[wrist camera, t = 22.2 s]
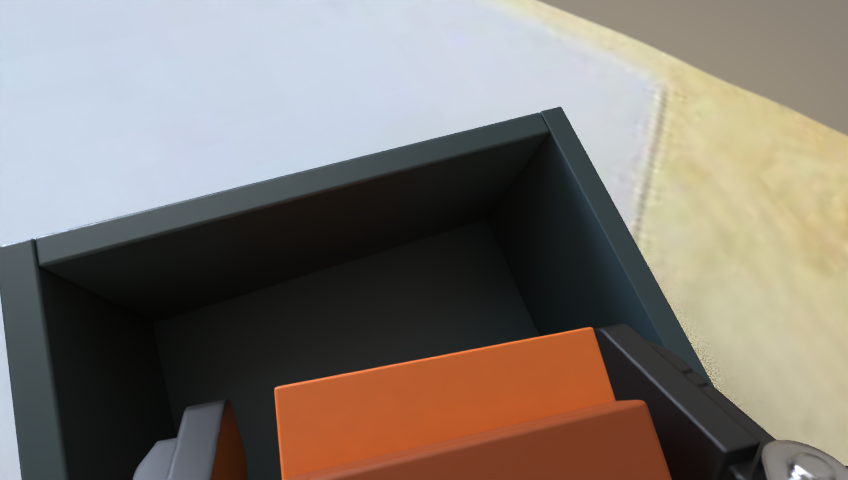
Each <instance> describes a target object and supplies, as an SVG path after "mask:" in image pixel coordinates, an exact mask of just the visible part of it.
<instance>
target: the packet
mask: <svg viewBox="0 0 848 480" xmlns="http://www.w3.org/2000/svg"><path fill="white" fill-rule="evenodd" d="M274 394H275V405H276V417H277V428H278V440H279V451H280V462H281V474H282V480H672V478H671V475H670V472H669V469H668V466H667V463H666V460H665V457H664V454H663V451H662V448H661V445H660V442H659V439H658V436H657V433H656V430H655V427H654V424H653V421H652V418H651V415H650V412H649V409H648V407H647V404H646V403H645V402H644V401H642V400H623V401H616V400H615V396H614V393H613V390H612V387H611V384H610V381H609V377H608V374H607V371H606V368H605V365H604V361H603V358H602V355H601V352H600V349H599V346H598V342H597V339H596V336H595V333H594V330H593V328H591V327H587V328H582V329H577V330H571V331H566V332H561V333H556V334H550V335H545V336H540V337H535V338H529V339H524V340H519V341H514V342H508V343H503V344H498V345H493V346H487V347H482V348H477V349H472V350H466V351H461V352H456V353H451V354H445V355H440V356H435V357H430V358H424V359H419V360H414V361H409V362H403V363H398V364H393V365H388V366H382V367H377V368H372V369H367V370H361V371H356V372H351V373H345V374H340V375H335V376H330V377H324V378H319V379H314V380H309V381H303V382H298V383H293V384H288V385H282V386H277V387H276V388H275V390H274Z"/></svg>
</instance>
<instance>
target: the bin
mask: <svg viewBox="0 0 848 480" xmlns="http://www.w3.org/2000/svg"><path fill="white" fill-rule="evenodd" d="M0 295H1V304H2V313H3V321H4V330H5V339H6V347H7V356H8V365H9V374H10V382H11V391H12V400H13V408H14V417H15V426H16V434H17V443H18V452H19V460H20V469H21V478H22V480H133V477H134V474H135V471H136V469H137V467H138V466H139V464H140V463H141V462H142V461H143V459H144V458H145V457H146V456H147V454H148V453H149V452H150V450H151V449H152V448H153V447H154V445H155V444H156V443H157V442H158V441H163V440H167V439H172V438H177V436H178V432H179V429H180V425H181V421H182V418H183V414H184V411H185V409H186V408H187V407H189V406H194V405H200V404H205V403H210V402H215V401H220V400H225V399H229V400H230V402H231V404H232V408H233V411H234V415H235V419H236V422H237V426H238V430H239V433H240V437H241V441H242V444H243V448H244V452H245V457H246V464H247V480H282V474H281V462H280V451H279V440H278V428H277V417H276V405H275V394H274V390H275V388H276V387H277V386H282V385H288V384H293V383H298V382H303V381H309V380H314V379H319V378H324V377H330V376H335V375H340V374H345V373H351V372H356V371H361V370H367V369H372V368H377V367H382V366H388V365H393V364H398V363H403V362H409V361H414V360H419V359H424V358H430V357H435V356H440V355H445V354H451V353H456V352H461V351H466V350H472V349H477V348H482V347H487V346H493V345H498V344H503V343H508V342H514V341H519V340H524V339H529V338H535V337H540V336H545V335H550V334H556V333H561V332H566V331H571V330H577V329H582V328H587V327H591V328H593V329H596V328H601V327H607V326H612V325H617V324H627V325H629V326H630V327H631V328H633V329H634V330H635V331H636V332H637V333H638V334H639V335H640V336H642V337H643V338H644V339H645V340H646V341H652V342H654V343H656V344H658V345H660V346H662V347H664V348H666V349H667V350H669V351H671V352H673V353H675V354H676V355H677V356H678V357H679V358H681V359H682V360H683V361H684V362H685V363H687V364H688V365H689V366H690V367H691V368H692V369H693V372H694V373H695V372H697V373H698V374H699V375H701V376H702V377H703V378H704V379H705V380H706V381H708V384H709V386H713V384H712V382H711V380H710V378H709V377H708V375H707V373H706V371H705V369H704V367H703V366H702V364H701V362H700V360H699V358H698V356H697V355H696V353H695V351H694V349H693V347H692V346H691V344H690V342H689V340H688V338H687V336H686V335H685V333H684V331H683V329H682V327H681V325H680V324H679V322H678V320H677V318H676V316H675V314H674V313H673V311H672V309H671V307H670V305H669V303H668V302H667V300H666V298H665V296H664V294H663V292H662V291H661V289H660V287H659V285H658V283H657V281H656V280H655V278H654V276H653V274H652V272H651V270H650V269H649V267H648V265H647V263H646V261H645V259H644V258H643V256H642V254H641V252H640V250H639V248H638V247H637V245H636V243H635V241H634V239H633V237H632V236H631V234H630V232H629V230H628V228H627V227H626V225H625V223H624V221H623V219H622V217H621V216H620V214H619V212H618V210H617V208H616V206H615V205H614V203H613V201H612V199H611V197H610V195H609V194H608V192H607V190H606V188H605V186H604V184H603V183H602V181H601V179H600V177H599V175H598V173H597V172H596V170H595V168H594V166H593V164H592V162H591V161H590V159H589V157H588V155H587V153H586V151H585V150H584V148H583V146H582V144H581V142H580V140H579V139H578V137H577V135H576V133H575V131H574V129H573V128H572V126H571V124H570V122H569V120H568V118H567V117H566V115H565V113H564V111H563V109H562V108H561V107H557V108H553V109H549V110H545V111H541V112H540V113H535V114H531V115H527V116H523V117H519V118H515V119H511V120H507V121H503V122H499V123H495V124H491V125H487V126H483V127H479V128H475V129H471V130H467V131H463V132H459V133H455V134H450V135H446V136H442V137H438V138H434V139H430V140H426V141H422V142H418V143H414V144H410V145H406V146H402V147H398V148H394V149H390V150H386V151H382V152H378V153H374V154H370V155H366V156H362V157H358V158H354V159H350V160H346V161H342V162H338V163H334V164H330V165H326V166H322V167H318V168H314V169H310V170H306V171H302V172H298V173H294V174H290V175H285V176H281V177H277V178H273V179H269V180H265V181H261V182H257V183H253V184H249V185H245V186H241V187H237V188H233V189H229V190H225V191H221V192H217V193H213V194H209V195H205V196H201V197H197V198H193V199H189V200H185V201H181V202H177V203H173V204H169V205H165V206H161V207H157V208H153V209H149V210H145V211H141V212H137V213H133V214H129V215H124V216H120V217H116V218H112V219H108V220H104V221H100V222H96V223H92V224H88V225H84V226H80V227H76V228H72V229H68V230H64V231H60V232H56V233H52V234H48V235H44V236H40V237H37V238H36V240H35V239H27V240H23V241H19V242H15V243H11V244H7V245H3V246H0ZM713 387H714V386H713Z"/></svg>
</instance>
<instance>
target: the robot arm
mask: <svg viewBox="0 0 848 480" xmlns="http://www.w3.org/2000/svg"><path fill="white" fill-rule="evenodd" d="M593 330H594V333H595V336H596V339H597V342H598V346H599V349H600V352H601V355H602V358H603V361H604V365H605V368H606V371H607V374H608V377H609V381H610V384H611V387H612V390H613V393H614V396H615V400H616V401H623V400H642V401H644V402H645V403H646V404H647V407H648V409H649V412H650V415H651V418H652V421H653V424H654V427H655V430H656V433H657V436H658V439H659V442H660V445H661V448H662V451H663V454H664V457H665V460H666V463H667V466H668V469H669V472H670V475H671V478H672V480H848V466H844V465H843V464H842V463H840V462H839V461H838V460H836V459H835V458H833V457H832V456H830V455H828V454H827V453H825V452H823V451H821V450H819V449H817V448H815V447H812V446H809V445H807V444H803V443H800V442H796V441H790V440H776V439H775V438H773V437H772V436H771V435H770V434H768V433H767V432H766V431H765V430H764V429H763V428H761V427H760V426H759V425H758V424H757V423H756V422H754V421H753V420H752V419H751V418H750V417H749V416H747V415H746V414H745V413H744V412H743V411H742V410H740V409H739V408H738V407H737V406H736V405H735V404H733V403H732V402H731V401H730V400H729V399H727V398H726V397H725V396H724V395H723V394H722V393H720V392H719V391H718V390H717V389H716V388H715V387H713V386H709V384H708V381H706V380H705V379H704V378H703V377H702V376H701V375H699V374H698V373H697V372H695V373H694V372H693V369H692V368H691V367H690V366H689V365H688V364H687V363H685V362H684V361H683V360H682V359H681V358H679V357H678V356H677V355H676V354H675V353H673V352H671V351H669V350H667V349H666V348H664V347H662V346H660V345H658V344H656V343H654V342H652V341H646V340H645V339H644V338H643V337H642V336H640V335H639V334H638V333H637V332H636V331H635V330H634V329H633V328H631V327H630V326H629V325H627V324H617V325H612V326H607V327H601V328H596V329H593ZM133 480H247V464H246V457H245V452H244V448H243V444H242V441H241V437H240V433H239V430H238V426H237V422H236V419H235V415H234V411H233V408H232V404H231V402H230V400H229V399H225V400H220V401H215V402H210V403H205V404H200V405H194V406H189V407H187V408H186V409H185V411H184V414H183V418H182V421H181V425H180V429H179V432H178V436H177V438H172V439H167V440H163V441H158V442H157V443H156V444H155V445H154V447H153V448H152V449H151V450H150V452H149V453H148V454H147V456H146V457H145V458H144V459H143V461H142V462H141V463H140V464H139V466H138V467H137V469H136V471H135V474H134V477H133Z"/></svg>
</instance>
